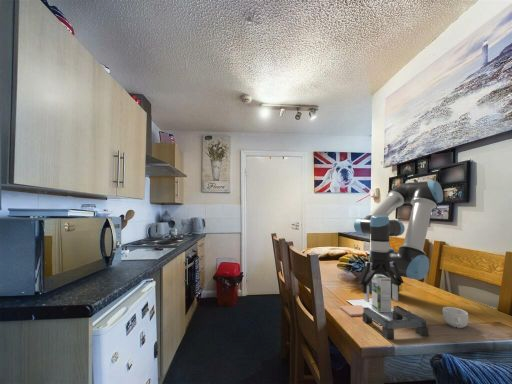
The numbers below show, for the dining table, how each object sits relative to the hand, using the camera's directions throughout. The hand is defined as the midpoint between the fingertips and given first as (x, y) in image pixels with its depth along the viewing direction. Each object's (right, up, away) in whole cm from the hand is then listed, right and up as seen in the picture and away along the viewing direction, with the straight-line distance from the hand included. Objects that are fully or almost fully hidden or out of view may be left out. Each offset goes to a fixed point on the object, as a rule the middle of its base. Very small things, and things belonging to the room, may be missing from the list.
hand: (381, 300), depth 110 cm
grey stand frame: (-4, -3, -17) cm, 18 cm away
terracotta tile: (-12, -4, -2) cm, 13 cm away
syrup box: (0, -4, 0) cm, 4 cm away
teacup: (+21, -3, -15) cm, 26 cm away
